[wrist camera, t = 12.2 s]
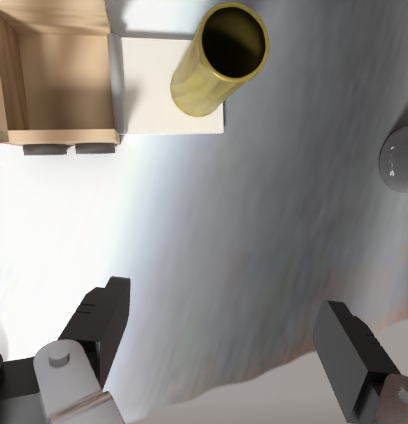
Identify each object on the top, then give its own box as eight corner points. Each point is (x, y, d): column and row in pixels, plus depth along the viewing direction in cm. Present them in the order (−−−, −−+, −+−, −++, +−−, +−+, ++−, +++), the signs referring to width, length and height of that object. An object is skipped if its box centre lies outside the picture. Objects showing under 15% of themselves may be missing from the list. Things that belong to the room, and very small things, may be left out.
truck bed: (110, 21, 33) (103, -15, 26) (120, 152, 36) (116, 151, 29) (8, 16, 31) (-28, -25, 25) (26, 155, 34) (-2, 154, 27)
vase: (179, 52, 34) (207, -23, 20) (229, 74, 36) (287, 17, 22) (163, 105, 35) (179, 68, 21) (213, 125, 36) (259, 102, 22)
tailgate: (218, 45, 36) (223, 38, 34) (220, 133, 38) (225, 131, 35) (108, 41, 34) (106, 32, 31) (115, 135, 35) (114, 133, 33)
